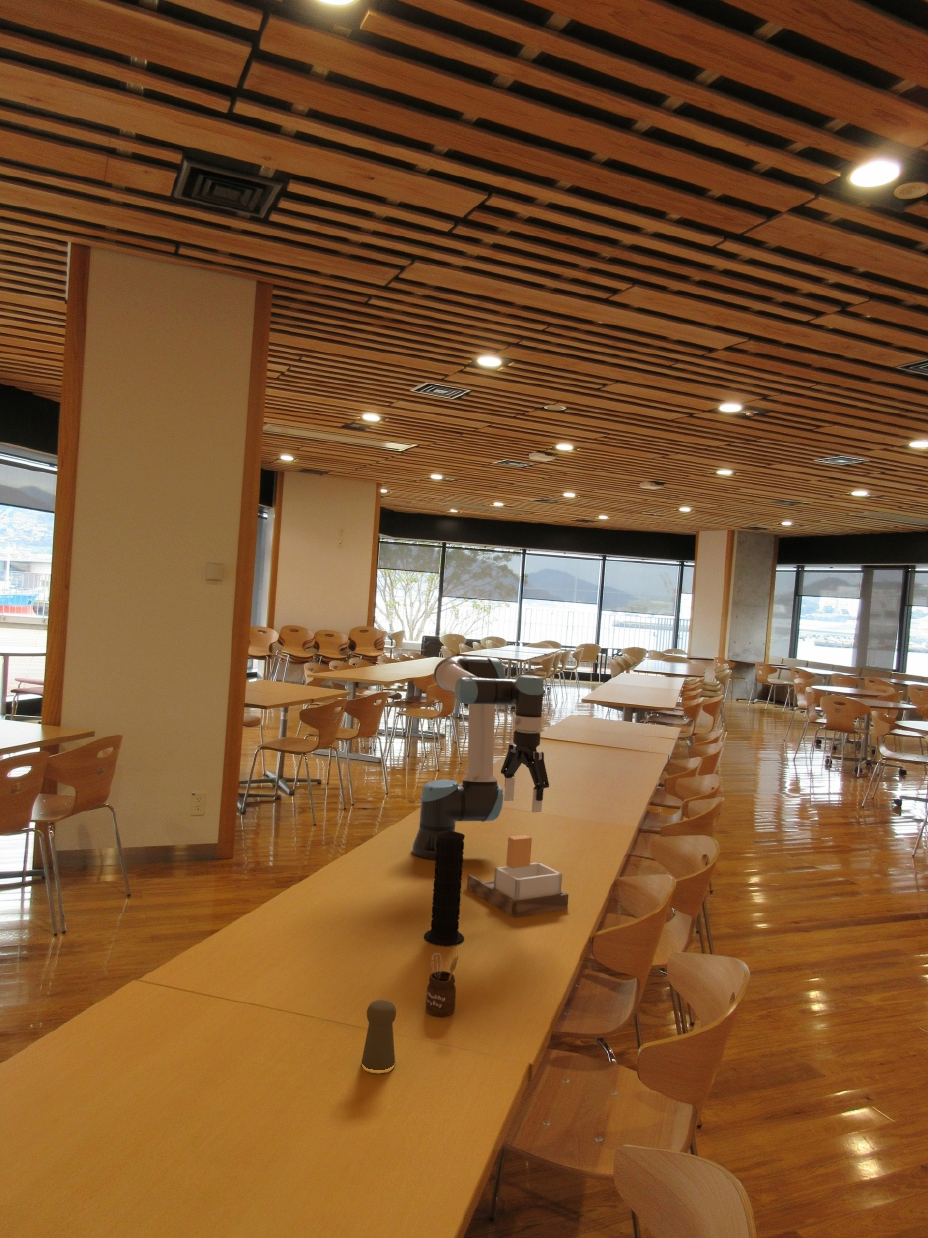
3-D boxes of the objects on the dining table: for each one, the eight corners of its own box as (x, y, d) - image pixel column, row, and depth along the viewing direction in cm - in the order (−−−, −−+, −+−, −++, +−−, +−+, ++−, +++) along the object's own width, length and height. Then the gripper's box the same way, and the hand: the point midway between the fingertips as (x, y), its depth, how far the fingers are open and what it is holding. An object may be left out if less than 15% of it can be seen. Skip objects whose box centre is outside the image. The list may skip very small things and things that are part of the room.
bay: (466, 888, 248) (467, 874, 248) (518, 881, 257) (518, 868, 257) (513, 917, 227) (514, 902, 227) (567, 909, 237) (568, 894, 237)
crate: (491, 895, 240) (494, 838, 239) (534, 888, 247) (538, 833, 247) (515, 909, 229) (519, 850, 229) (560, 902, 237) (564, 845, 237)
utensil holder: (438, 1000, 178) (442, 943, 178) (461, 1011, 174) (465, 952, 174) (419, 1010, 173) (423, 951, 173) (442, 1021, 169) (446, 961, 169)
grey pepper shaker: (361, 1055, 155) (365, 995, 155) (395, 1056, 155) (399, 996, 155) (360, 1074, 149) (364, 1011, 149) (395, 1074, 149) (399, 1012, 149)
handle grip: (419, 942, 207) (459, 949, 205) (426, 833, 206) (467, 838, 204) (429, 927, 217) (468, 933, 215) (435, 823, 216) (475, 828, 214)
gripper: (492, 724, 250) (487, 796, 250) (542, 738, 229) (537, 818, 229) (513, 723, 254) (508, 795, 254) (565, 738, 233) (560, 816, 233)
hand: (522, 806), depth 242 cm, fingers open, 13 cm apart
